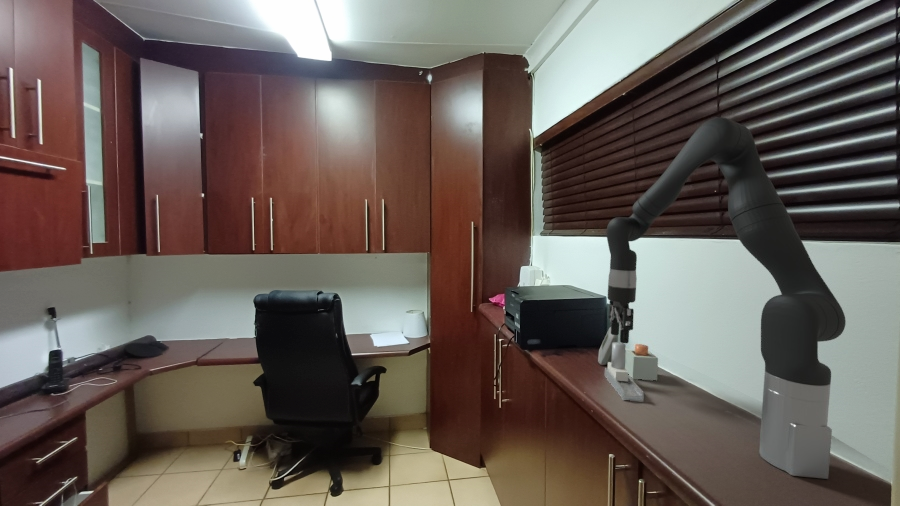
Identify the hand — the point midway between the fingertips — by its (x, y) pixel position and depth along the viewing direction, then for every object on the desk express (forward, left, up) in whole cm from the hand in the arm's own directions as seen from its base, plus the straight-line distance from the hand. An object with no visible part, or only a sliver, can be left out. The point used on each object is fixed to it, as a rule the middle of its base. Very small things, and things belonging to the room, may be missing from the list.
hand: (619, 338), depth 109 cm
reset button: (+6, -9, -7) cm, 13 cm away
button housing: (+6, -9, -13) cm, 17 cm away
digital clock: (+20, -3, -14) cm, 24 cm away
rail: (-5, 0, -13) cm, 14 cm away
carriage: (0, 0, -11) cm, 11 cm away
